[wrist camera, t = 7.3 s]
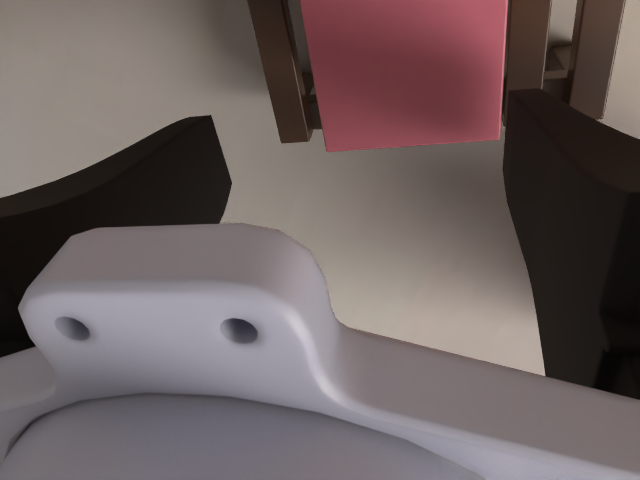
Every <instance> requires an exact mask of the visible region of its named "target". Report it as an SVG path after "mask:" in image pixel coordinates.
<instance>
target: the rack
mask: <svg viewBox="0 0 640 480" xmlns="http://www.w3.org/2000/svg"><path fill="white" fill-rule="evenodd" d="M247 1H248V5H249V9H250V14H251V18H252V22H253V26H254V31H255V35H256V39H257V43H258V47H259V52H260V56H261V60H262V64H263V69H264V73H265V77H266V81H267V86H268V90H269V94H270V98H271V103H272V107H273V111H274V115H275V119H276V124H277V128H278V132H279V136H280V141H281V143H295V142H308V141H310V138H311V135H312V132H313V131H312V130H314V129H322V124H321V118H320V113H319V107H318V101H317V96H316V90H315V84H314V79H313V73H303V74H302V73H301V68H300V63H299V58H298V52H297V47H296V42H295V37H294V31H293V26H292V21H291V16H290V10H289V5H288V0H247ZM625 1H626V0H577V7H576V14H575V21H574V29H573V36H572V43H571V45H567V46H558V47H552V48H551V49H550V57H549V66H548V72H544V70H545V60H546V51H547V42H548V33H549V23H550V14H551V5H552V0H508V10H507V27H506V44H505V61H504V78H503V96H502V113H501V119H502V122H503V126H504V127H506V118H507V104H508V91H509V90H521V89H533V88H539V89H541V90H543V91H545V92H547V93H549V94H551V95H553V96H554V97H556V98H558V99H559V100H561V101H563V102H564V103H566V104H568V105H569V106H571V107H573V108H575V109H576V110H578V111H580V112H582V113H583V114H585V115H587V116H589V117H591V118H593V119H603V116H604V111H605V106H606V101H607V96H608V90H609V85H610V80H611V75H612V69H613V64H614V59H615V54H616V48H617V43H618V38H619V33H620V27H621V22H622V17H623V12H624V7H625Z"/></svg>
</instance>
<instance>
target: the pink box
mask: <svg viewBox="0 0 640 480" xmlns="http://www.w3.org/2000/svg"><path fill="white" fill-rule="evenodd" d="M300 5H301V11H302V17H303V22H304V28H305V34H306V39H307V45H308V51H309V56H310V62H311V67H312V73H313V79H314V84H315V90H316V96H317V101H318V107H319V113H320V118H321V124H322V130H323V135H324V141H325V146H326V151H327V152H334V151H348V150H361V149H375V148H389V147H403V146H417V145H431V144H445V143H459V142H473V141H487V140H498V139H500V130H501V113H502V96H503V78H504V61H505V44H506V27H507V10H508V0H300Z"/></svg>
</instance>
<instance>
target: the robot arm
mask: <svg viewBox="0 0 640 480" xmlns="http://www.w3.org/2000/svg"><path fill="white" fill-rule="evenodd" d="M503 176H504V184H505V191H506V198H507V204H508V207H509V210H510V214H511V217H512V221H513V224H514V227H515V231H516V234H517V237H518V240H519V244H520V247H521V250H522V253H523V257H524V260H525V263H526V266H527V270H528V273H529V278H530V282H531V286H532V291H533V297H534V303H535V309H536V315H537V321H538V327H539V334H540V340H541V347H542V354H543V360H544V368H545V375H546V376H542V375H538V374H534V373H530V372H526V371H522V370H518V369H514V368H510V367H506V366H502V365H498V364H494V363H490V362H486V361H482V360H478V359H474V358H470V357H466V356H462V355H458V354H453V353H449V352H445V351H441V350H437V349H433V348H429V347H425V346H421V345H417V344H413V343H409V342H405V341H401V340H397V339H393V338H389V337H385V336H381V335H377V334H373V333H369V332H365V331H361V330H357V329H353V328H349V327H347V326H346V325H344V324H342V323H341V322H339V321H338V320H337V318H336V317H335V315H334V312H333V310H332V307H331V304H330V299H329V294H328V290H327V285H326V280H325V276H324V274H323V273H322V271H321V269H320V267H319V265H318V264H317V262H316V260H315V258H314V257H313V255H312V253H311V251H310V250H309V249H307V248H306V247H304V246H303V245H301V244H300V243H298V242H297V241H295V240H294V239H292V238H290V237H289V236H287V235H286V234H284V233H283V232H281V231H280V230H277V229H271V228H266V227H260V226H255V225H249V224H244V223H226V224H219V223H220V221H221V218H222V216H223V214H224V211H225V207H226V204H227V201H228V197H229V193H230V189H231V185H232V181H231V178H230V175H229V172H228V168H227V165H226V162H225V159H224V155H223V152H222V149H221V146H220V143H219V139H218V136H217V133H216V130H215V126H214V123H213V120H212V117H211V115H208V116H196V117H188V118H185V119H182V120H179V121H177V122H175V123H172V124H170V125H168V126H166V127H164V128H162V129H161V130H159V131H157V132H155V133H153V134H151V135H149V136H148V137H146V138H144V139H142V140H140V141H138V142H137V143H135V144H133V145H131V146H129V147H127V148H125V149H123V150H122V151H120V152H118V153H116V154H114V155H112V156H110V157H108V158H106V159H104V160H102V161H100V162H98V163H96V164H94V165H92V166H90V167H87V168H85V169H83V170H81V171H78V172H76V173H73V174H71V175H68V176H66V177H63V178H61V179H58V180H56V181H53V182H50V183H47V184H44V185H41V186H38V187H35V188H32V189H29V190H26V191H23V192H20V193H17V194H14V195H10V196H7V197H3V198H0V480H640V139H637V138H634V137H632V136H629V135H627V134H624V133H622V132H620V131H618V130H615V129H613V128H611V127H609V126H607V125H605V124H603V123H600V122H599V121H597V120H595V119H593V118H591V117H589V116H587V115H585V114H583V113H582V112H580V111H578V110H576V109H575V108H573V107H571V106H569V105H568V104H566V103H564V102H563V101H561V100H559V99H558V98H556V97H554V96H553V95H551V94H549V93H547V92H545V91H543V90H541V89H539V88H533V89H521V90H509V91H508V104H507V118H506V131H505V144H504V158H503Z"/></svg>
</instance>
